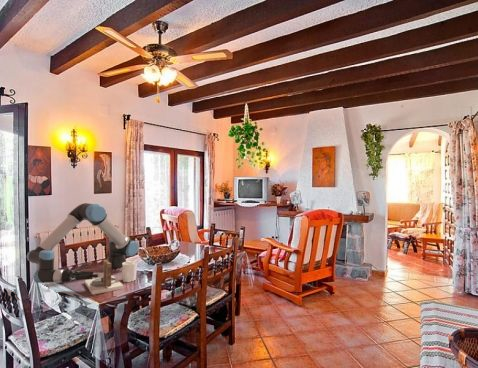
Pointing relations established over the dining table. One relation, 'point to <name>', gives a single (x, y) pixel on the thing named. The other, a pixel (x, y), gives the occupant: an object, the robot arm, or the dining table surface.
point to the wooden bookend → (105, 276)
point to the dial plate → (102, 289)
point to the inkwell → (81, 267)
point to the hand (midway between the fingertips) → (103, 275)
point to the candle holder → (129, 271)
